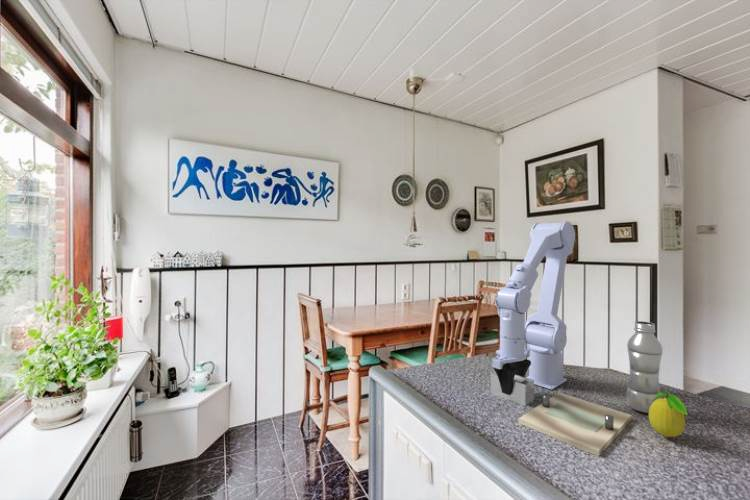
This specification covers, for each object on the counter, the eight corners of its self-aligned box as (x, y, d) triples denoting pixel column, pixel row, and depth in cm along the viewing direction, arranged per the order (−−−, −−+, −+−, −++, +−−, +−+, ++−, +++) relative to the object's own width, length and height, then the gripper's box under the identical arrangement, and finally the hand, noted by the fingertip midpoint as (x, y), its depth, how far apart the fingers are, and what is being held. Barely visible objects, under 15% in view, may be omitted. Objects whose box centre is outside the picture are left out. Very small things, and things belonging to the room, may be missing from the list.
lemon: (687, 451, 64) (688, 397, 63) (646, 439, 68) (647, 388, 67) (687, 436, 68) (688, 386, 68) (649, 425, 72) (650, 378, 72)
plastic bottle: (656, 406, 81) (657, 321, 80) (666, 420, 75) (667, 327, 74) (622, 401, 83) (624, 318, 83) (629, 414, 77) (631, 324, 77)
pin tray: (558, 396, 86) (559, 382, 86) (631, 419, 75) (631, 403, 75) (518, 423, 74) (518, 406, 74) (598, 456, 62) (598, 437, 62)
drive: (499, 388, 91) (500, 369, 91) (533, 400, 84) (534, 379, 84) (490, 393, 88) (490, 373, 88) (525, 405, 82) (525, 384, 81)
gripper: (512, 328, 94) (511, 378, 94) (481, 338, 85) (481, 393, 85) (538, 333, 88) (537, 386, 89) (508, 344, 79) (508, 403, 79)
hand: (511, 390), depth 86 cm, fingers closed on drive, 4 cm apart
